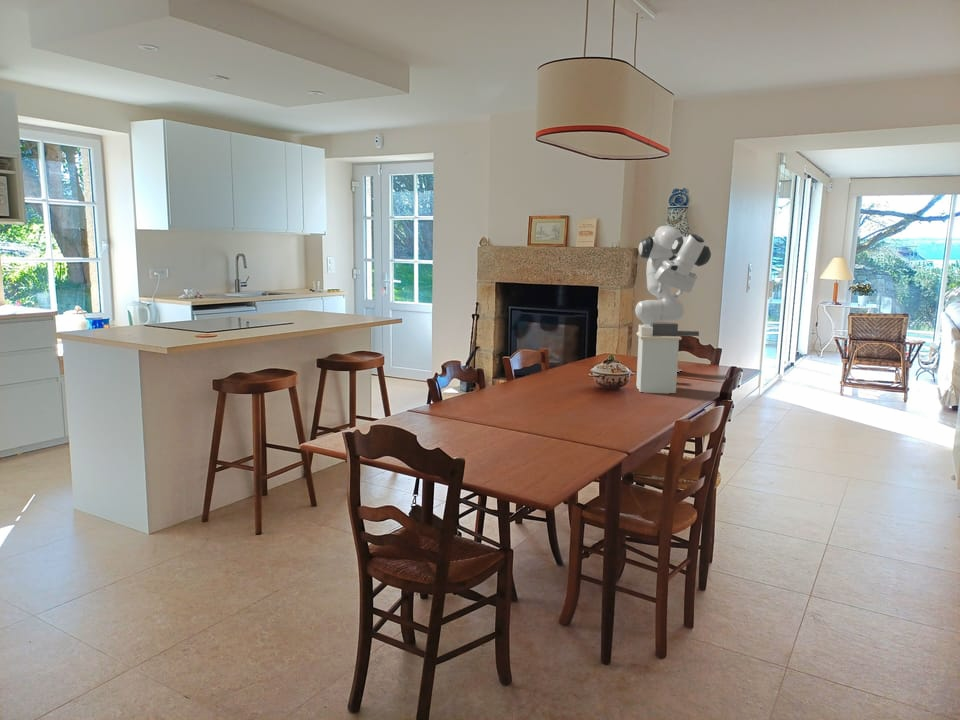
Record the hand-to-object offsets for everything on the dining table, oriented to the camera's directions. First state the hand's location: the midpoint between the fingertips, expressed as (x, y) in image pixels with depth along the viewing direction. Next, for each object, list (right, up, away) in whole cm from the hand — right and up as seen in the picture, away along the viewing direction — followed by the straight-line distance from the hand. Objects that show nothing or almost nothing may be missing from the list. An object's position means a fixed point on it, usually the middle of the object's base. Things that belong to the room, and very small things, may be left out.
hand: (666, 295), depth 321 cm
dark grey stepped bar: (+1, -19, -5) cm, 20 cm away
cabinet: (-5, -45, 0) cm, 45 cm away
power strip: (-11, -19, -4) cm, 22 cm away
